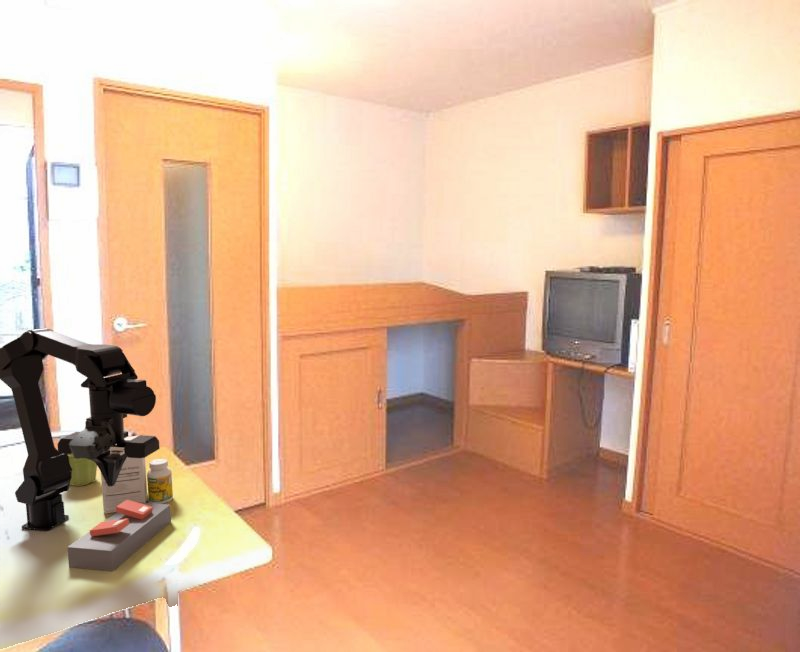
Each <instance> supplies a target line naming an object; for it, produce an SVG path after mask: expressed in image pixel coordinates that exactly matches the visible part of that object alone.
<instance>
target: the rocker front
mask: <svg viewBox="0 0 800 652" xmlns="http://www.w3.org/2000/svg"><path fill="white" fill-rule="evenodd" d="M129 524H130V523H129V519H128V518H127V519H120V520H113V521H106V522H104V521H100V522H99V523H98V524H97V525H95V526H94V527H92V528H91V529H89V530H88V531H89V532H90V535H91V536H98V535H105V534H112V533H118V532H120V531H121V530H122V529H124V528H125V527H126V526H128V525H129Z"/></svg>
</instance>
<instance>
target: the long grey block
mask: <svg viewBox="0 0 800 652" xmlns="http://www.w3.org/2000/svg"><path fill="white" fill-rule="evenodd" d="M138 503H141V504H145V505H148V506H152V507H153V509H152V513H150V514H149V515H148V516H146V517H145V518H144V519H142V520H141V519H138V518H134V517H131V516H127V515H124V514H121V513H117V512H115V513H114V514H113V515H111V516H110V517H108V518H107V519H105V520H104V521H103V522H106V521H113V520H120V519H127V518H128V519H129V523H130V524H129V525H128V526H126V527H125V528H124V529H122V530H121V531H120V532H118V533H112V534H105V535H98V536H91V535H90V531H89V532H87V533H85V534H84V535H83V536H81V537H80V538H79V539H77V540H75V541H74V542H72V543H71V544H69V545H68V546H67V557H68V559H67V561H68V568H73V569H74V568H75V569H85V570H87V569H88V570H94V571H95V570H97V571H106V572H107V571H108V572H114V571H115V570H116V569H117V568H119V566H120V565H122V564H123V563H124V562H126V561H127V560H129V558H130V557H131V556H132V555H134V554H135V553H136V552H137V551H138V550H139V549H141V548H142V547H143V546H144V545H146V544H147V543H148V542H149V541H150V540H152V539H153V538H154V537H155V536H156V535H157V534H159V533H160V532H161V531H162V530H163V529H165V528H166V527H167V526H169V524H171V523H172V514H171V513H172V512H171V504H167V503H163V504H156V503H150V502H146V503H143V502H138Z"/></svg>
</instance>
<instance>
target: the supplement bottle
mask: <svg viewBox="0 0 800 652" xmlns="http://www.w3.org/2000/svg"><path fill="white" fill-rule="evenodd" d="M168 461H169V460H168V459H166V458H157V459H152V460H151V461H149V465H148V466H149V471H148V472H146V481H147V497H148V503H156V504H167V503H169V502H171V501H172V500H173V497H174V495H173V494H174V493H173V492H174V491H173V476H172V475H173V474H172V470H171V468H170V467H168V466H169V462H168Z"/></svg>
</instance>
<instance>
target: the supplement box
mask: <svg viewBox="0 0 800 652" xmlns="http://www.w3.org/2000/svg"><path fill="white" fill-rule="evenodd" d="M138 436H139V435H134V436H133V435H132V436H128V437H126V438H124V440H132V439H134V438H136V437H138ZM116 445H117V444H116ZM100 478H101V493H102V495H101V496H102V505H103V506H102V507H103V509H102V510H103V514H104V515H106V514H112V513H117V512H116V507H117V506H118V505H120V504H121V503H122V502H124V501H125V500H127V499H128V500H131V501H134V502H143V503H147V497H148V482H147V467H146V457H145V458H128V457H127V458H126V460H125V462H124V464H123V466H122V468H121V471H120V473H119V476H118V478H117V481H116V483H115V485H114V486H112V487H111V486H108V485H107V483H106V481H105V479H104V477H103V475H102V473H101V472H100Z"/></svg>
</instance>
